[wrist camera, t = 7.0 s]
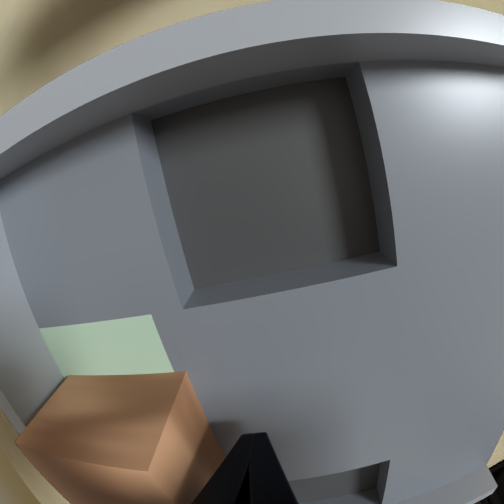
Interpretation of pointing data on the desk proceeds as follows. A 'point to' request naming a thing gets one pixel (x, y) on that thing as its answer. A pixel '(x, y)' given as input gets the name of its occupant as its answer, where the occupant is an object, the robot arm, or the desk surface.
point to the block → (123, 440)
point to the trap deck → (276, 237)
